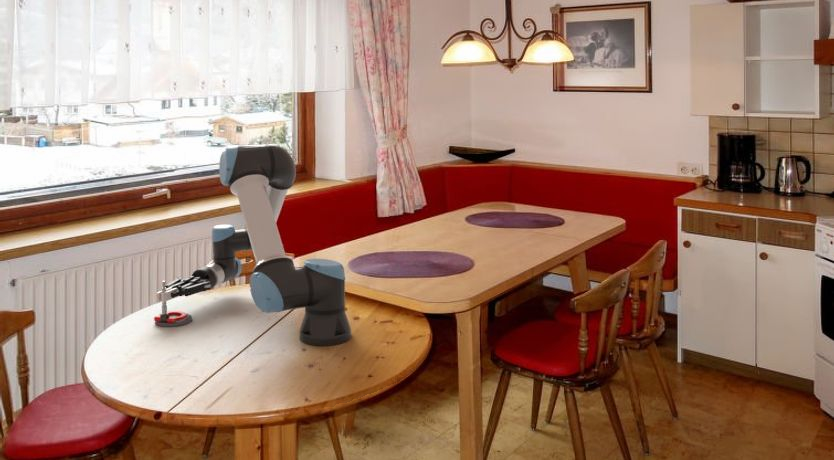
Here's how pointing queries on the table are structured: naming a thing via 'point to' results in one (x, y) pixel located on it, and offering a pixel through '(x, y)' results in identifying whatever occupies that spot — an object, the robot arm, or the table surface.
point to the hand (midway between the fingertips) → (160, 297)
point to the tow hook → (165, 315)
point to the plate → (177, 322)
